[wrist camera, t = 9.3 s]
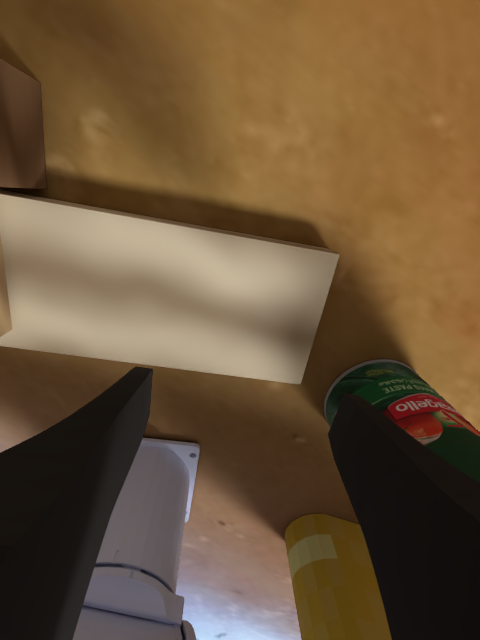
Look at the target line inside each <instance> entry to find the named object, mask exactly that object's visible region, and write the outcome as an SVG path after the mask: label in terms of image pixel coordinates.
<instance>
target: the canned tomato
mask: <svg viewBox="0 0 480 640" xmlns="http://www.w3.org/2000/svg"><path fill="white" fill-rule="evenodd" d="M343 393H346V394H354V395H359V396H361V397H362V398H364V399H365V400H366V401H368V402H369V403H370V404H372V405H373V406H374V407H376V408H377V409H378V410H379V411H381V412H382V413H383V414H384V415H386V416H387V417H388V418H389V419H391V420H392V421H393V422H394V423H396V424H397V425H398V426H400V427H401V428H402V429H403V430H405V431H406V432H407V433H408V434H410V435H411V436H412V437H414V438H415V439H416V440H418V441H419V442H420V443H422V444H423V445H424V446H426V447H427V448H428V449H430V450H431V451H433V452H434V453H435V454H437V455H438V456H439V457H441V458H442V459H444V460H445V461H447V462H448V463H450V464H451V465H453V466H454V467H456V468H457V469H459V470H460V471H462V472H463V473H465V474H466V475H468V476H470V477H471V478H473V479H474V480H476V481H477V482H479V483H480V432H479V431H478V430H476V429H475V428H474V427H473V426H472V425H471V423H470V422H468V421H467V420H466V419H465V418H464V417H463V416H462V415H461V414H460V413H459V412H457V411H456V410H455V409H454V408H453V407H452V406H451V405H450V404H449V403H447V402H446V401H445V399H444V398H443V397H442V396H440V395H439V394H438V393H437V392H436V391H435V390H434V389H433V388H431V387H430V386H429V385H428V384H427V382H425V381H424V380H423V379H422V378H421V377H419V375H418V374H417V373H416V372H415V371H414V370H413V369H412V368H410V367H409V366H407V365H406V364H404V363H401V362H398V361H396V360H389V359H375V360H370V361H366V362H363V363H360V364H358V365H355V366H353V367H352V368H350V369H348V370H346V371H345V372H344V373H343V374H341V375H340V376H339V377H338V378H337V379H336V380H335V381H334V382H333V384H332V385H331V387H330V388H329V390H328V392H327V394H326V397H325V400H324V414H325V418H326V420H327V422H328V424H329V426H330V427H331V425H332V423H333V420H334V417H335V415H336V412H337V409H338V407H339V404H340V401H341V398H342V396H343Z"/></svg>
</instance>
